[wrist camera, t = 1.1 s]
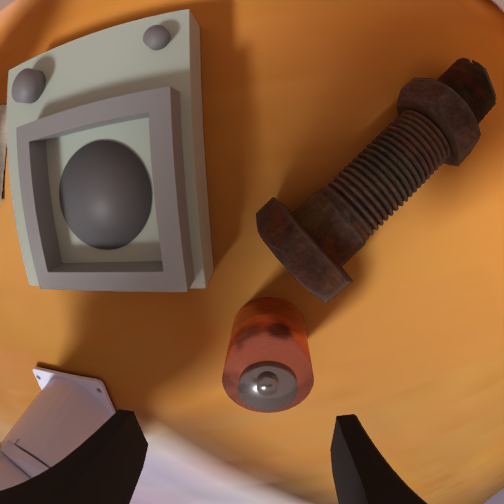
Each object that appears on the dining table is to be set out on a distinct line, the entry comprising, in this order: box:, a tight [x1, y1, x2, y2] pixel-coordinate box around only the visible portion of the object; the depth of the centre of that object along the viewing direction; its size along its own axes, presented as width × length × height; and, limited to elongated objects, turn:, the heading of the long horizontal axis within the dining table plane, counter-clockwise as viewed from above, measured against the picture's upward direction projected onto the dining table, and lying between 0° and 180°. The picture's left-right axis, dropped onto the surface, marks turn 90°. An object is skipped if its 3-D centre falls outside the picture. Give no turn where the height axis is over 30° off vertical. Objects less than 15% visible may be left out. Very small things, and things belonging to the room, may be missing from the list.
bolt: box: [256, 58, 496, 303], centre depth 13 cm, size 6×5×15 cm
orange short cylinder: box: [222, 297, 314, 413], centre depth 16 cm, size 4×4×6 cm
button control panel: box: [7, 9, 214, 292], centre depth 14 cm, size 14×12×4 cm
